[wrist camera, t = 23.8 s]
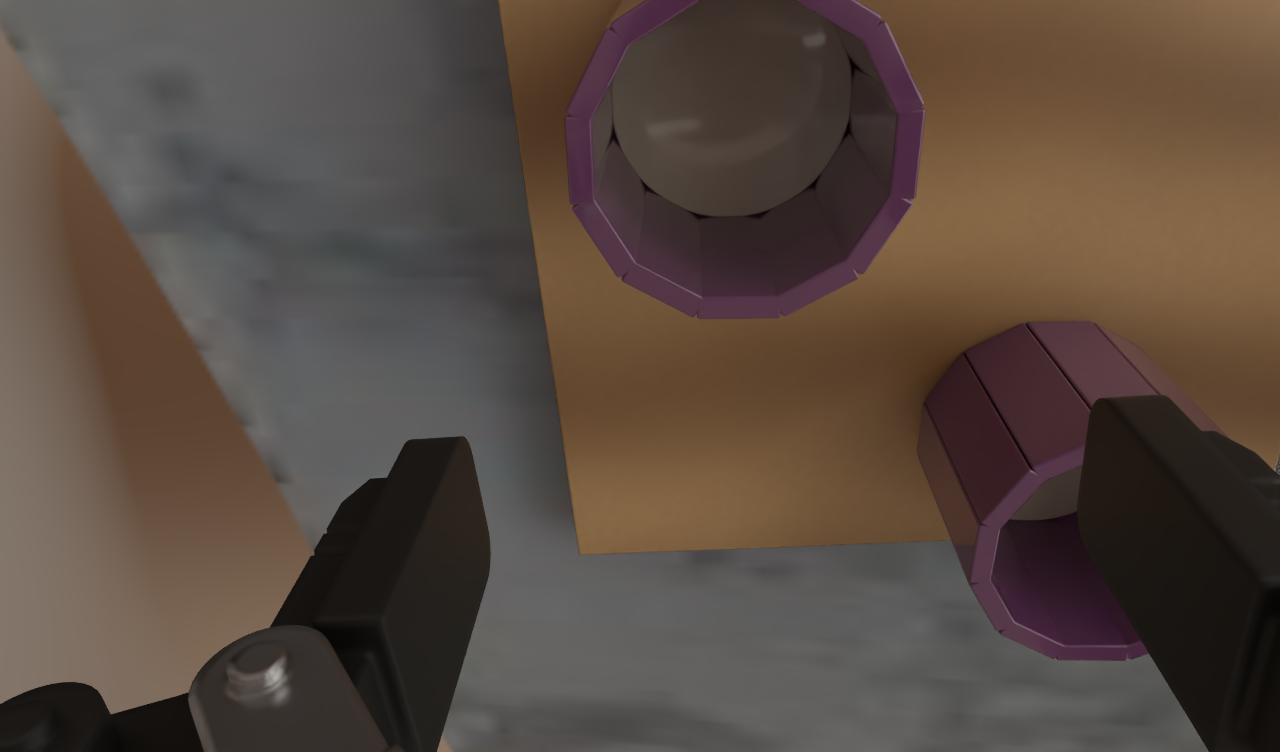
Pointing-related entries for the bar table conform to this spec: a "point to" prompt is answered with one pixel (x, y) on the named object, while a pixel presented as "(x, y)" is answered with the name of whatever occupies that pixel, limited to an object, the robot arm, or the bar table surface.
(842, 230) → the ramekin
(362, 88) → the bar table surface
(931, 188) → the oak board
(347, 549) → the robot arm
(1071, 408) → the end ramekin
